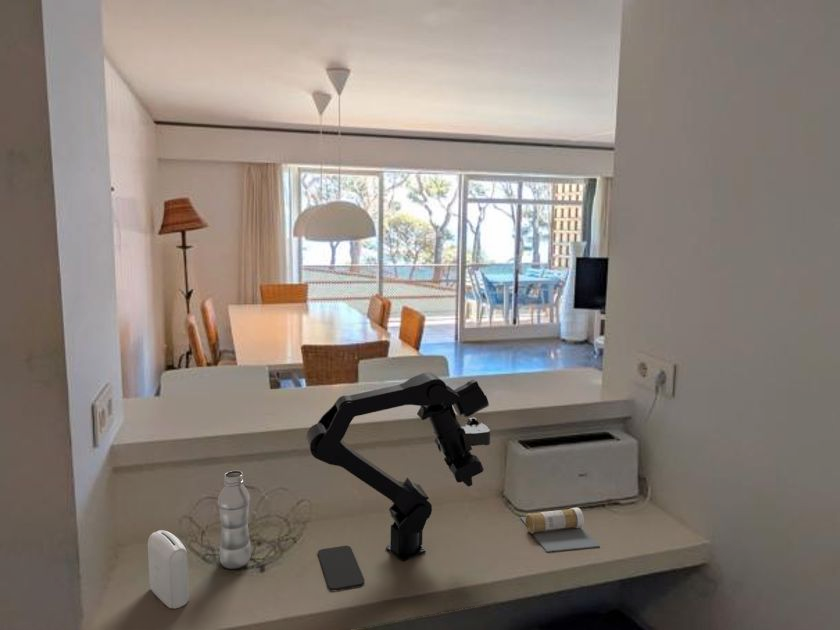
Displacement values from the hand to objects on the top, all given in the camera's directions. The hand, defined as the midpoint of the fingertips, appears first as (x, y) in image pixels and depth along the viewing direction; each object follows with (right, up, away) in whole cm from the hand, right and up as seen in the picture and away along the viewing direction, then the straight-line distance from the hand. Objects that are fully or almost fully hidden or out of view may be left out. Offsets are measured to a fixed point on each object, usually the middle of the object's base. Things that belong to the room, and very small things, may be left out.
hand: (470, 485), depth 134 cm
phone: (-28, -15, -9) cm, 33 cm away
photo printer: (-59, -16, -20) cm, 65 cm away
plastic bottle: (-50, -14, -9) cm, 53 cm away
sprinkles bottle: (+14, -11, +6) cm, 19 cm away
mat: (+22, -13, +8) cm, 27 cm away
